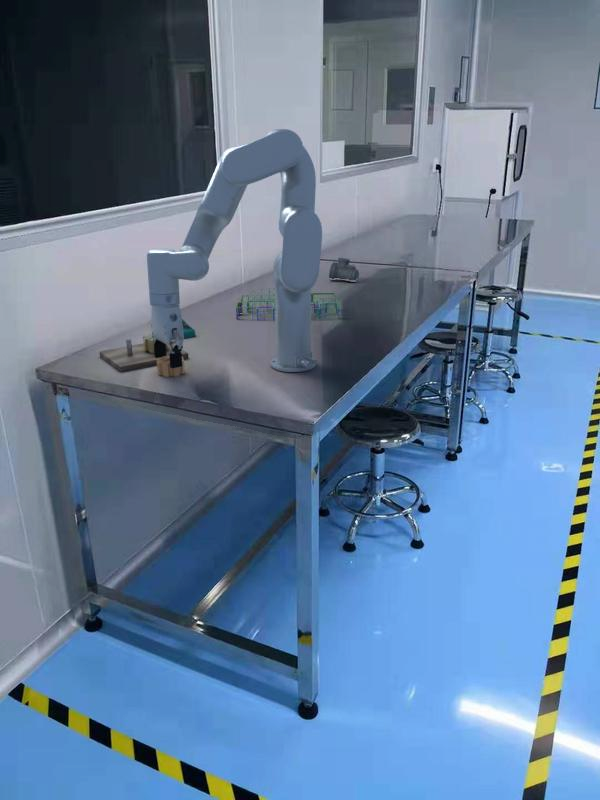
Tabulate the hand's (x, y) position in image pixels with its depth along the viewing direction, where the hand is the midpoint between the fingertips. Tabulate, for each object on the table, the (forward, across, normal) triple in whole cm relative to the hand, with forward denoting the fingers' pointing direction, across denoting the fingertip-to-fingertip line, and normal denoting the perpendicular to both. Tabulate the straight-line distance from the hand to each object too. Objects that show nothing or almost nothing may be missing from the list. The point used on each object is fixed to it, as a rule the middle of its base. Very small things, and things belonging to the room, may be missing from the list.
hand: (168, 362), depth 171 cm
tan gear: (+3, 0, -1) cm, 3 cm away
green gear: (+1, +16, -4) cm, 16 cm away
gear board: (+3, +16, 0) cm, 16 cm away
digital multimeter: (+4, +34, -19) cm, 39 cm away
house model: (+3, +38, -64) cm, 74 cm away
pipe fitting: (+2, +63, -111) cm, 127 cm away
